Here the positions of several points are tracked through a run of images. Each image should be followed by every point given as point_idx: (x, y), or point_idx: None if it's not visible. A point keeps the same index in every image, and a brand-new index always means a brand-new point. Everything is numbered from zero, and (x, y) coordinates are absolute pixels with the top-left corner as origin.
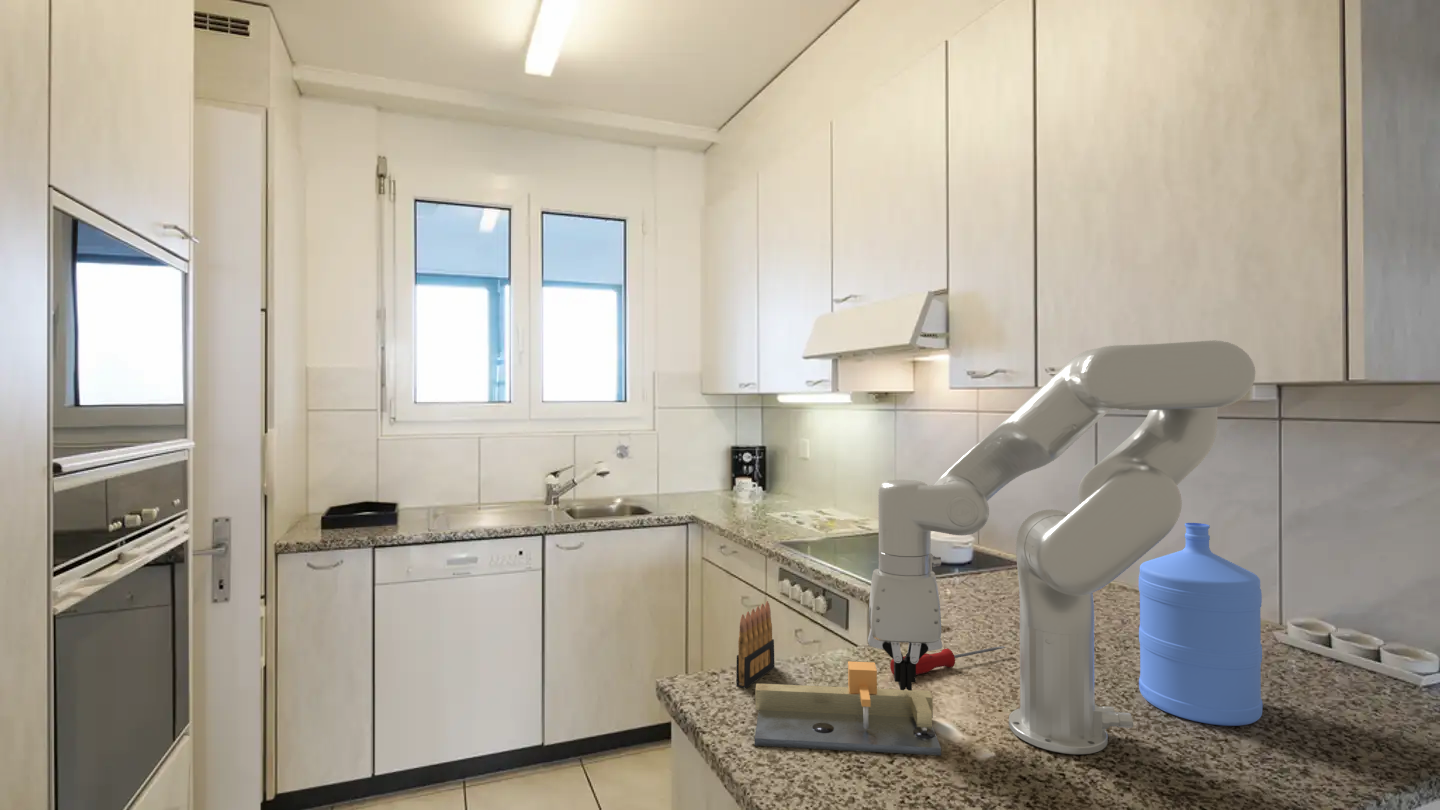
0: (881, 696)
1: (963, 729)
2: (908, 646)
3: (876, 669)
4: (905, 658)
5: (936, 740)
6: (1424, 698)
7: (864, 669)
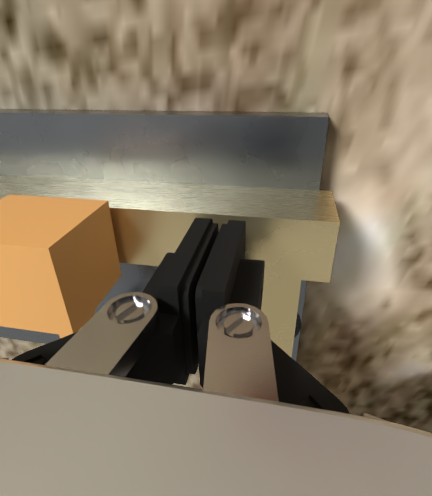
0: (140, 261)
1: (415, 256)
2: (206, 356)
3: (70, 325)
4: (201, 310)
5: (293, 354)
6: None
7: (22, 324)
